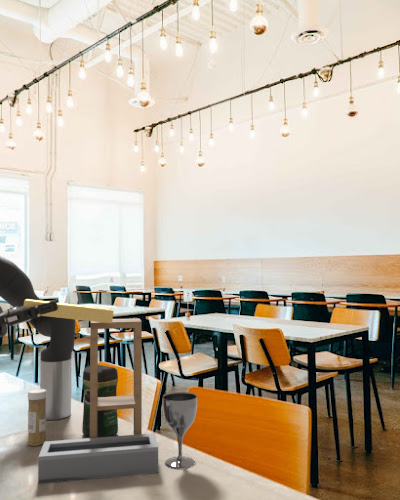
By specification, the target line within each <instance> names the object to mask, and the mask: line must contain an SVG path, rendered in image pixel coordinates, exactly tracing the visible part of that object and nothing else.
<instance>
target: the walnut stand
mask: <svg viewBox="0 0 400 500" xmlns="http://www.w3.org/2000/svg"><path fill="white" fill-rule="evenodd" d="M142 327H143V326H142V320H141V319H140V317H139V318H136V317H135V318H113V319H112V323H103V322H94V321H90V327H89V328H90V331H89V333H90V334H89V335H90V338H89V340H90V342H89V343H90V345H89V347H90V350H89V357H90V358H89V359H90V360H89V366H90V437H89V438H97V411H100V410H116V409H117V410H129V409H133V435H138V434H143V433H142V429H143V427H142V426H143V424H142V423H143V422H142V421H143V420H142V418H143V417H142V416H143V415H142V414H143V413H142V412H143V411H142V410H143V409H142V401H143V398H142V397H143V396H142V395H143V394H142V393H143V392H142V387H143V386H142V381H143V380H142V379H143V378H142V375H143V373H142V372H143V371H142V366H143V365H142V363H143V362H142V357H143V356H142V353H143V351H142V345H143V344H142V341H143V340H142V339H143V338H142ZM106 329H107V330H110V329H113V330H114V329H133V394H131V395H116V396H113V397H98V365H99V364H98V363H99V360H98V359H99V358H98V357H99V353H98V351H99V348H98V347H99V345H98V344H99V330H106Z"/></svg>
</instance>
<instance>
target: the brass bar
mask: <svg viewBox="0 0 400 500" xmlns="http://www.w3.org/2000/svg"><path fill="white" fill-rule="evenodd" d="M48 301H49V300H48ZM48 301H45V300H42V301H39V300H31V299H26V300H24V306H28V307H32V306H34V305H38V306H39V305H41V304H45V303H48ZM57 307H58V309H57V310H56V311H53V312H49V313H46V314H42V315H41V316H49V317H58V318H67V319H75V321H77V320H79V321H86V322H91V321H94V322H103V323H112V319H114V312H115V311H114V308H109V307H108V308H107V307H99V306H97V307H96V306H89V305H81V304H80V305H79V304H72V303H71V304H70V303H65V302H64V303H63V302H59V303H57Z"/></svg>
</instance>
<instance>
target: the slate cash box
mask: <svg viewBox="0 0 400 500" xmlns="http://www.w3.org/2000/svg"><path fill="white" fill-rule="evenodd" d="M38 454H39V455H38V456H37V457H38V460H37V461H38V463H37V464H38V465H37V469H38V470H37V473H38V474H37V476H38V477H37V484H38V485H43V484H51V483H52V484H53V483H62V482H72V481H82V480H83V481H84V480H93V479H103V478H104V479H105V478H115V477H116V478H117V477H126V476H137V475H147V474H148V475H149V474H156V473H159V445H158V442H157V437H156V433H155V432H154V433H142V434H138V435H134V434H128V435H116V436H115V435H114V436H111V437H98V438H90V437H87V438H77V439H63V440H49V441H48V440H46V442H44V444H42V447H41V450H40V452H39V453H38Z"/></svg>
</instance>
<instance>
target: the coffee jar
mask: <svg viewBox="0 0 400 500" xmlns="http://www.w3.org/2000/svg"><path fill="white" fill-rule="evenodd" d="M118 373H119V372H118V369H117V368H115V367H114V366H107V365H103V364H98V397H113V396H117V391H118V390H117V387H118V383H119V376H118V375H119V374H118ZM82 386H83V410H82V411H83V413H82V414H83V415H82V426H81V427H82V434H83V435H84V436H86V437H87V438H90V365H87V366H85V368H84V370H83V373H82ZM118 417H119V416H118V409H116V410H100V411H97V438H98V437H111V436H115V435H117V434H118V432H119V423H118V422H119V420H118Z"/></svg>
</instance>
